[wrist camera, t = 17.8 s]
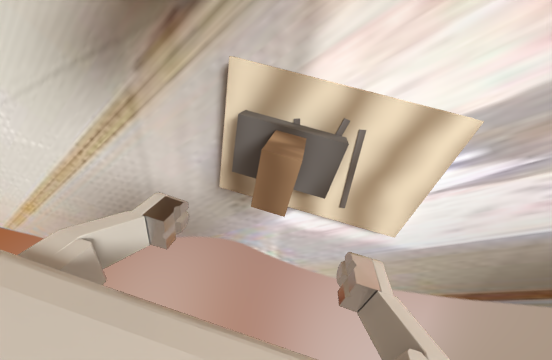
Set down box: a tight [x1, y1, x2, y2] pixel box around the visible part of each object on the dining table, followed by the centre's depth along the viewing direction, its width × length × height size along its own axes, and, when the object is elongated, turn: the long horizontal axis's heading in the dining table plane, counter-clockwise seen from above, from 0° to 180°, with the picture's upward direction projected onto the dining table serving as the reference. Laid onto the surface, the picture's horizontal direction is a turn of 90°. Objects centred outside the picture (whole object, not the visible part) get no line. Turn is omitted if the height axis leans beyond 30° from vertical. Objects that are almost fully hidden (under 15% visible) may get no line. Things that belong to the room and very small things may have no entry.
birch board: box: [219, 56, 483, 238], centre depth 21 cm, size 22×14×2 cm, turn 77°
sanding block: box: [232, 110, 349, 217], centre depth 17 cm, size 10×6×7 cm, turn 77°
